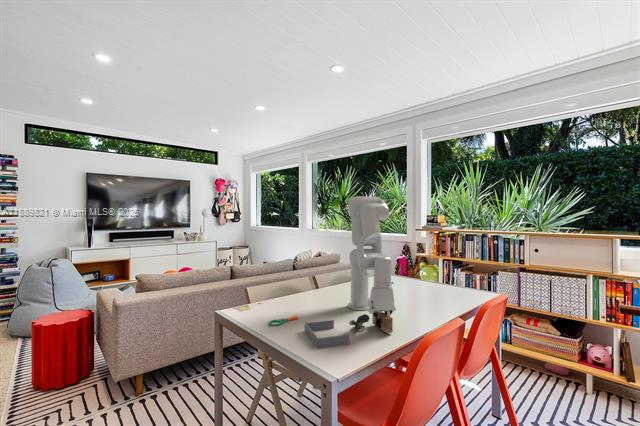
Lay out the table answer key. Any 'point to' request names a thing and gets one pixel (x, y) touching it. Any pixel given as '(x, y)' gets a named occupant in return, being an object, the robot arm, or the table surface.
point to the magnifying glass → (282, 321)
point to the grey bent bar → (325, 340)
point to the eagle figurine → (359, 322)
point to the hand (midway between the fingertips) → (382, 325)
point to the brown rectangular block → (384, 322)
